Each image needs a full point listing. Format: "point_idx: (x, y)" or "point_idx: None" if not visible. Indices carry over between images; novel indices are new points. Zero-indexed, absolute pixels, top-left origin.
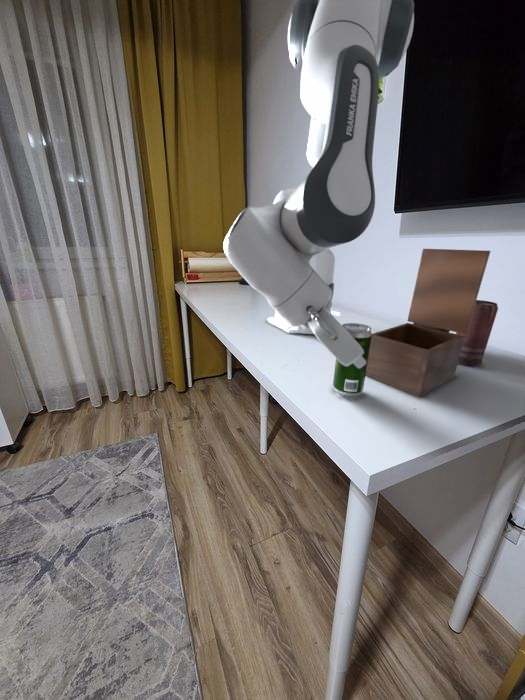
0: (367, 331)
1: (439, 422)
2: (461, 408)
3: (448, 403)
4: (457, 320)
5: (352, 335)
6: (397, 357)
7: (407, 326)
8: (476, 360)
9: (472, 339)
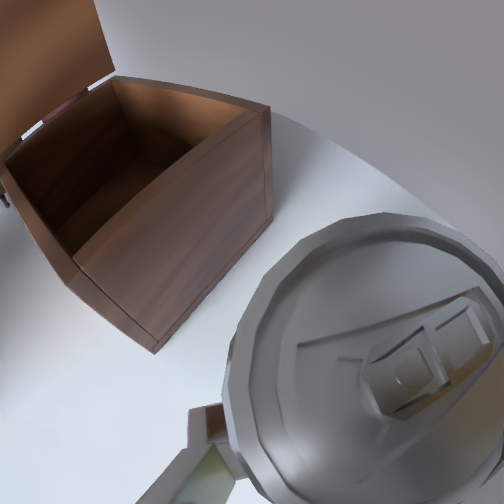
0: (475, 247)
1: (369, 203)
2: (290, 162)
3: (277, 176)
4: (86, 57)
5: None
6: (206, 211)
7: (8, 168)
8: None
9: (79, 96)
